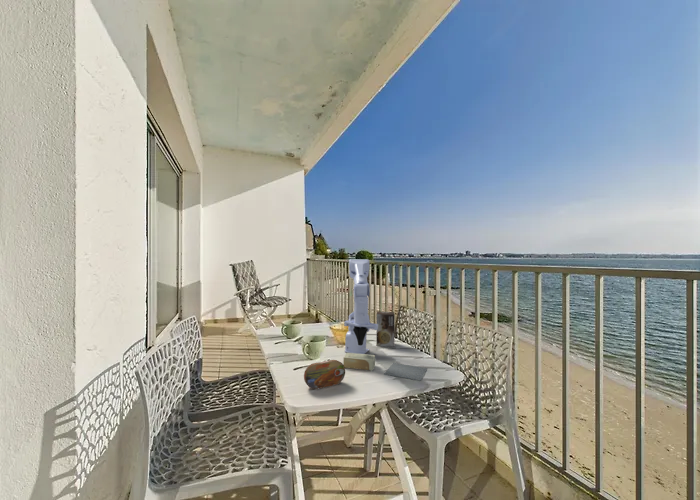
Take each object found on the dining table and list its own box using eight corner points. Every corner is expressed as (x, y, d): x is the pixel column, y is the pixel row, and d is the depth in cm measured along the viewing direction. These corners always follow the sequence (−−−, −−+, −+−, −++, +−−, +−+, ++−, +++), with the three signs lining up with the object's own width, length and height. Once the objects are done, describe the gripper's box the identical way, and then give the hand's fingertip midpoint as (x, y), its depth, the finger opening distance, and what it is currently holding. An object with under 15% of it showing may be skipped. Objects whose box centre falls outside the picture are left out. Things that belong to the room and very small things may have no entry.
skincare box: (375, 365, 132) (346, 362, 135) (375, 354, 132) (346, 352, 134) (372, 371, 125) (342, 368, 128) (372, 360, 125) (342, 357, 128)
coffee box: (394, 343, 163) (394, 311, 163) (394, 347, 157) (395, 314, 156) (376, 342, 164) (376, 311, 164) (375, 346, 158) (376, 313, 157)
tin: (305, 391, 107) (306, 366, 107) (302, 387, 110) (303, 363, 110) (345, 383, 114) (346, 359, 114) (341, 380, 117) (342, 357, 117)
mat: (384, 374, 122) (384, 373, 122) (393, 363, 134) (393, 362, 134) (420, 381, 117) (420, 380, 117) (426, 368, 129) (427, 368, 129)
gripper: (341, 312, 132) (340, 344, 133) (374, 316, 127) (373, 349, 127) (348, 309, 139) (347, 340, 139) (379, 312, 133) (379, 345, 133)
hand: (360, 344), depth 133 cm, fingers closed
